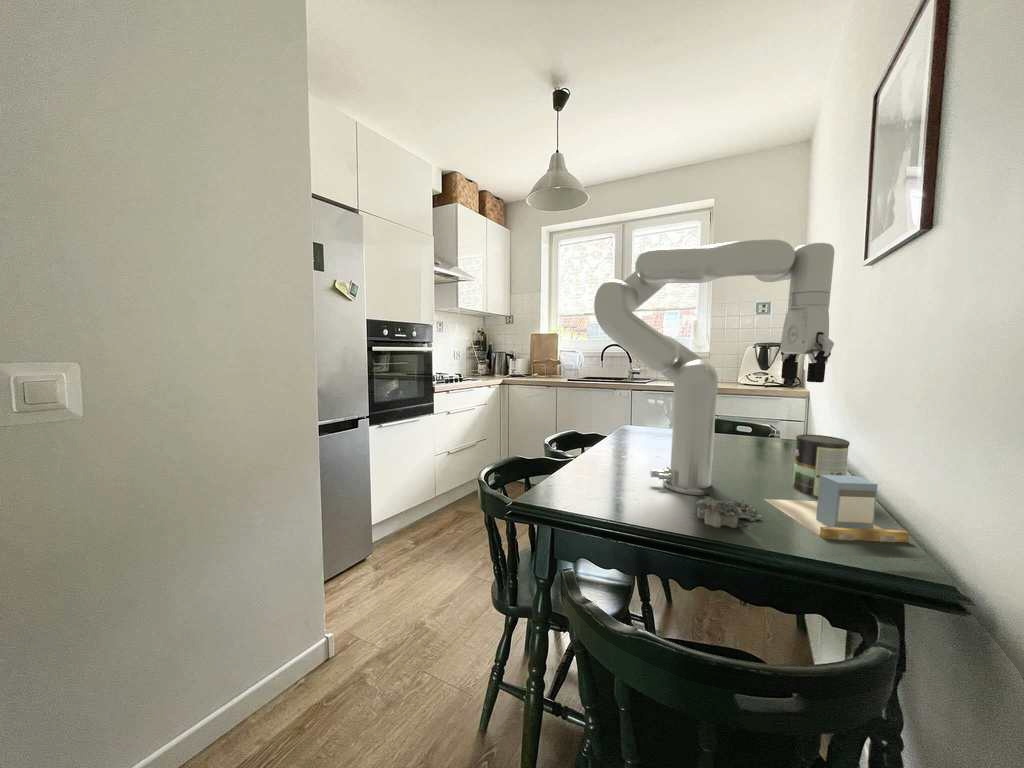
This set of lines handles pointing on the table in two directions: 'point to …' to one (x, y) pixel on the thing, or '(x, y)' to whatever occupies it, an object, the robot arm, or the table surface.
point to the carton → (846, 502)
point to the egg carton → (725, 512)
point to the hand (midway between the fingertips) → (801, 380)
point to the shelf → (807, 517)
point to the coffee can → (818, 460)
